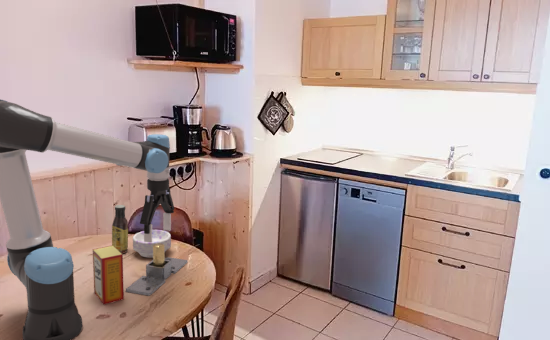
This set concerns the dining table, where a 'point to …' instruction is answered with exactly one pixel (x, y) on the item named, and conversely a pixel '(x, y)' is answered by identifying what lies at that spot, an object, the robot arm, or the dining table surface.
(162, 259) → the hinge pin
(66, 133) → the robot arm
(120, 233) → the sauce bottle
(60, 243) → the dining table surface
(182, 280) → the dining table surface
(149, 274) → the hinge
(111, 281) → the baking soda box
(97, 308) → the dining table surface
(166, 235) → the paper bowls
